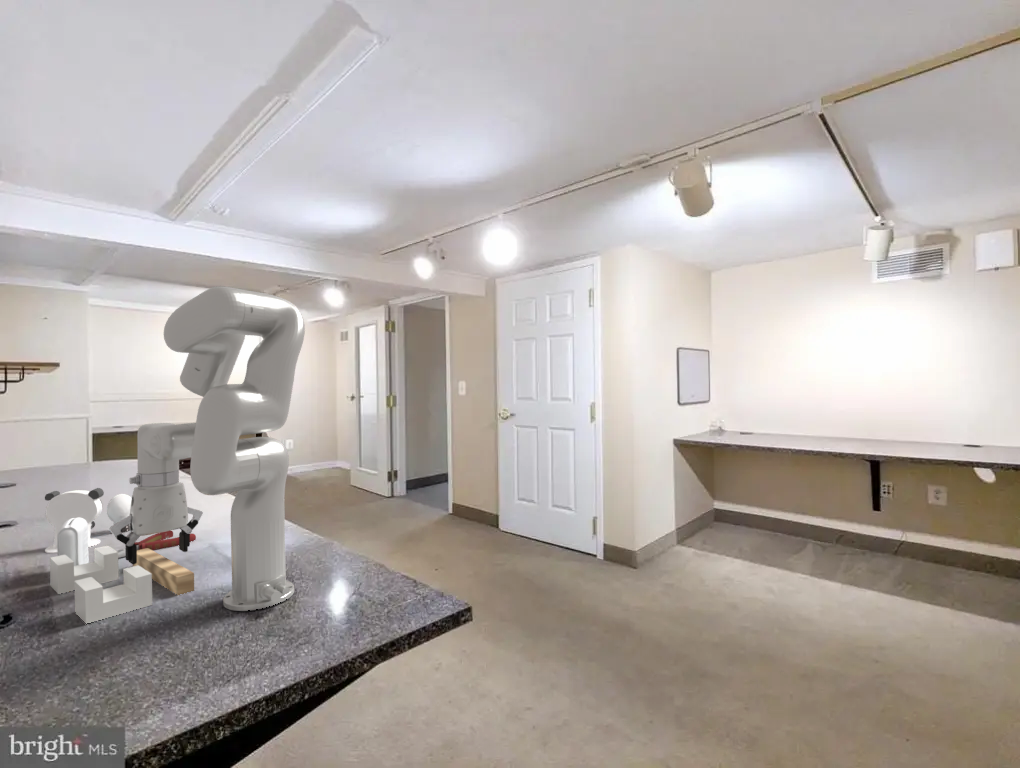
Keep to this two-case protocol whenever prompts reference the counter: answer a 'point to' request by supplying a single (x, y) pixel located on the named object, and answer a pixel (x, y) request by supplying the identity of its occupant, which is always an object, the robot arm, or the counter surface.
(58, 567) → the end caps
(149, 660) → the counter surface
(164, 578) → the slat
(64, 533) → the photo printer
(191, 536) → the pliers
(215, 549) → the counter surface
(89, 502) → the panda figurine
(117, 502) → the light bulb
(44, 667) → the counter surface
